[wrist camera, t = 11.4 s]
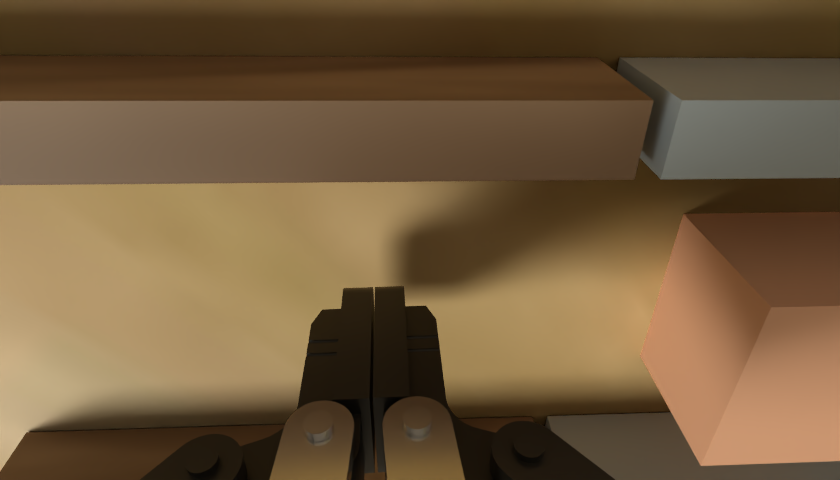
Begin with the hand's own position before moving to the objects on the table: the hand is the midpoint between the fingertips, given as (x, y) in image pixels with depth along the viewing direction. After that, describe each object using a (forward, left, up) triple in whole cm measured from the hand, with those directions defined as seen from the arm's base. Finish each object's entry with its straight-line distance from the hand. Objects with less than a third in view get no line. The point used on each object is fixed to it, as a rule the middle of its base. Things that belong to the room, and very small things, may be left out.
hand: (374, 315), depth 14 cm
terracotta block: (+1, +11, -2) cm, 11 cm away
